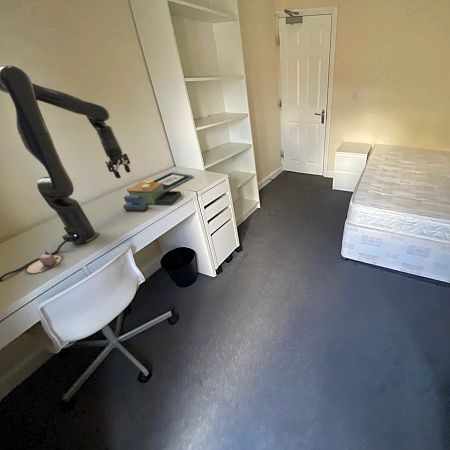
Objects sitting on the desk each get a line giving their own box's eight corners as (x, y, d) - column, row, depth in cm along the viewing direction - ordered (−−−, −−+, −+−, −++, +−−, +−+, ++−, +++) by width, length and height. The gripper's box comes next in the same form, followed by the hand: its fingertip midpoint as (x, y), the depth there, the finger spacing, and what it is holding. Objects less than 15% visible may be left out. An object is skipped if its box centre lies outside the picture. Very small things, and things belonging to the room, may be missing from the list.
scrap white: (148, 189, 157) (147, 186, 156) (142, 190, 156) (141, 187, 155) (150, 187, 160) (149, 184, 159) (144, 187, 160) (143, 184, 159)
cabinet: (155, 204, 159) (150, 191, 154) (131, 204, 161) (126, 191, 156) (166, 195, 171) (162, 182, 165) (144, 194, 172) (139, 182, 167)
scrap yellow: (149, 186, 161) (148, 183, 160) (145, 185, 163) (144, 182, 161) (154, 183, 164) (153, 180, 163) (150, 182, 166) (149, 180, 164)
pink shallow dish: (68, 255, 119) (62, 248, 117) (45, 273, 109) (38, 266, 107) (44, 255, 120) (38, 247, 118) (19, 273, 110) (12, 265, 108)
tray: (171, 204, 159) (169, 200, 157) (155, 204, 160) (154, 200, 158) (181, 195, 170) (180, 191, 168) (167, 195, 171) (165, 191, 169)
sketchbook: (139, 189, 180) (138, 186, 179) (172, 173, 203) (172, 171, 202) (162, 193, 173) (161, 190, 172) (193, 177, 196) (193, 174, 195)
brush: (149, 207, 157) (144, 194, 152) (144, 211, 153) (139, 198, 148) (130, 207, 158) (125, 194, 153) (125, 211, 154) (119, 198, 149)
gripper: (114, 142, 143) (125, 170, 152) (95, 150, 131) (108, 180, 140) (126, 142, 143) (137, 170, 152) (108, 150, 131) (121, 180, 140)
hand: (123, 175), depth 146 cm, fingers open, 8 cm apart
